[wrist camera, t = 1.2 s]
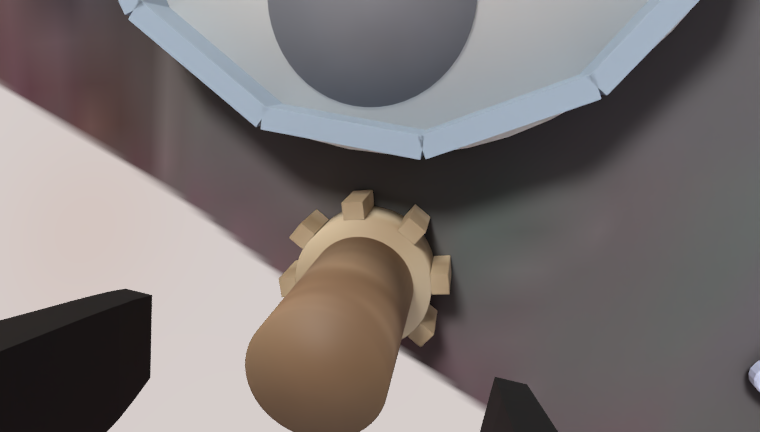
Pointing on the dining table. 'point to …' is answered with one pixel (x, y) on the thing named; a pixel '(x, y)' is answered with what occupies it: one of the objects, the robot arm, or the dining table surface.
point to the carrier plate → (407, 62)
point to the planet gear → (345, 316)
